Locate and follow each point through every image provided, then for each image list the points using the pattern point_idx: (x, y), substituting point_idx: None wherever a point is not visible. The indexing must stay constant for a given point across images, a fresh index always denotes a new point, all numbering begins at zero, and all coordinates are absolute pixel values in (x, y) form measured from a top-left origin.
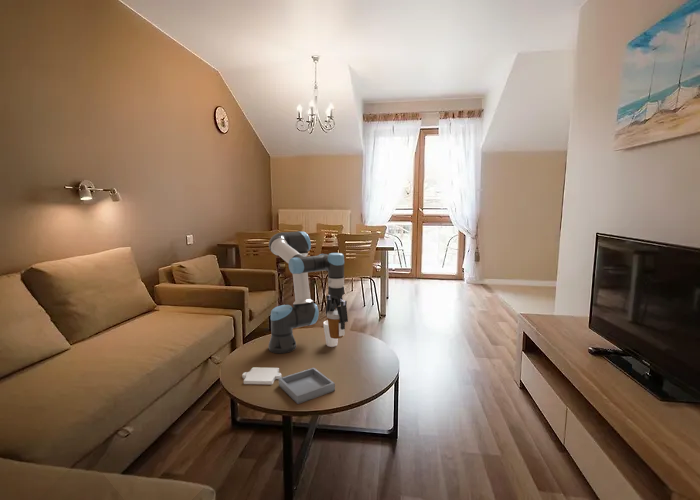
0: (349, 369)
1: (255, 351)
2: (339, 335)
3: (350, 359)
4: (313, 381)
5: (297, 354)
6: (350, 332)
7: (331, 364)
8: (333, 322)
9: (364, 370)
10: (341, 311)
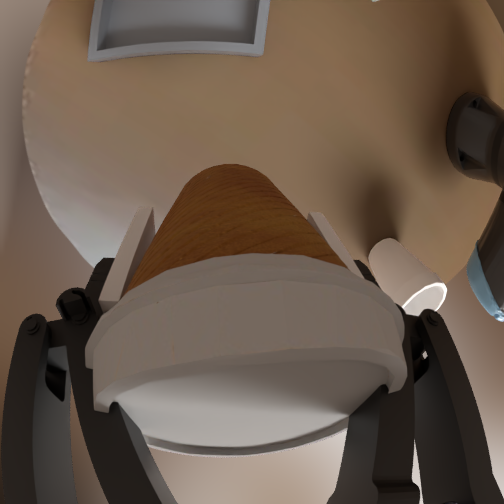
0: None
1: (495, 75)
2: (141, 210)
3: None
4: (197, 18)
5: (422, 128)
6: None
7: (279, 159)
8: (158, 251)
9: (160, 224)
10: (24, 460)
